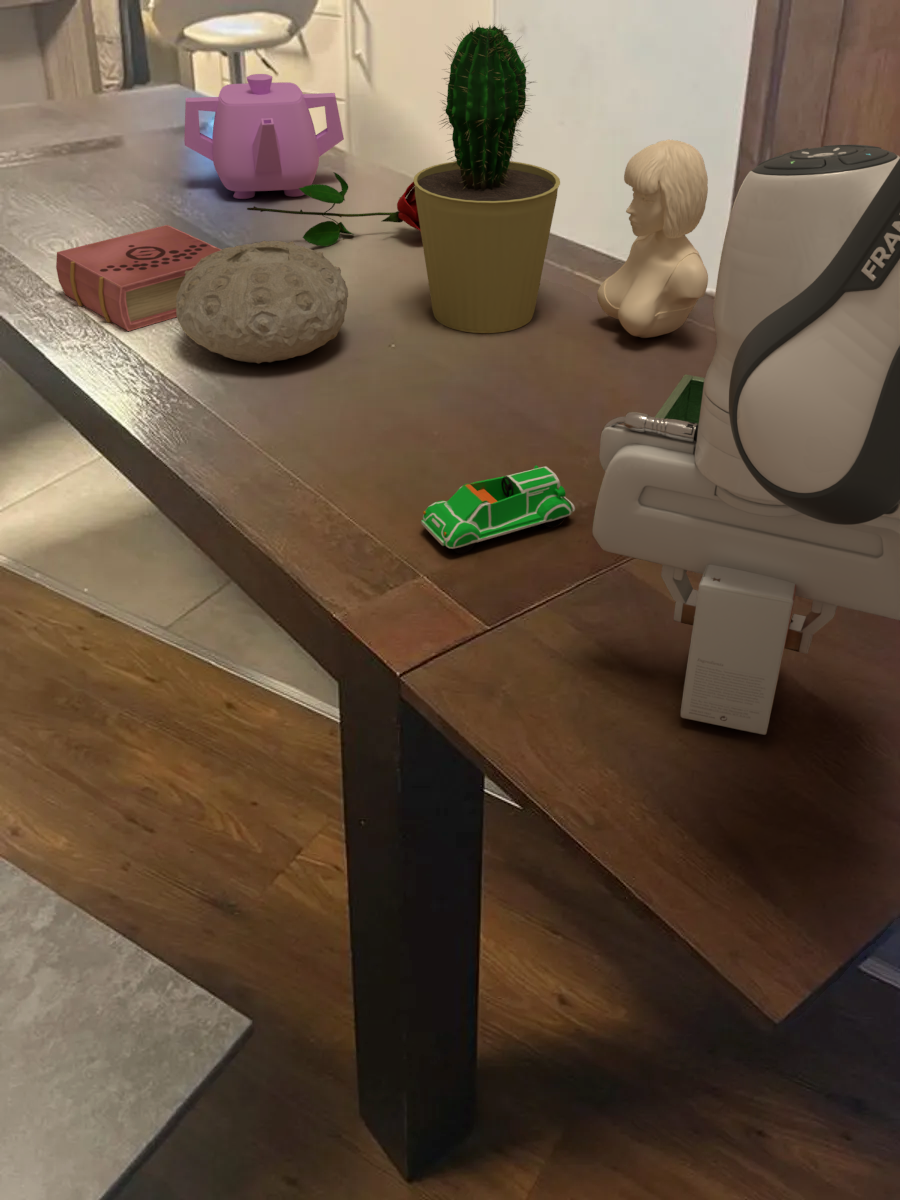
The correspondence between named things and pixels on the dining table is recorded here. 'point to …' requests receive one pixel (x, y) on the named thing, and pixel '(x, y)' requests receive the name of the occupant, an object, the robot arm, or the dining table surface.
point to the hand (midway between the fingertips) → (742, 632)
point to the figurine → (660, 242)
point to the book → (131, 274)
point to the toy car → (497, 508)
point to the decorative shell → (262, 301)
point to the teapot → (263, 135)
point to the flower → (331, 231)
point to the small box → (736, 648)
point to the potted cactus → (485, 196)
